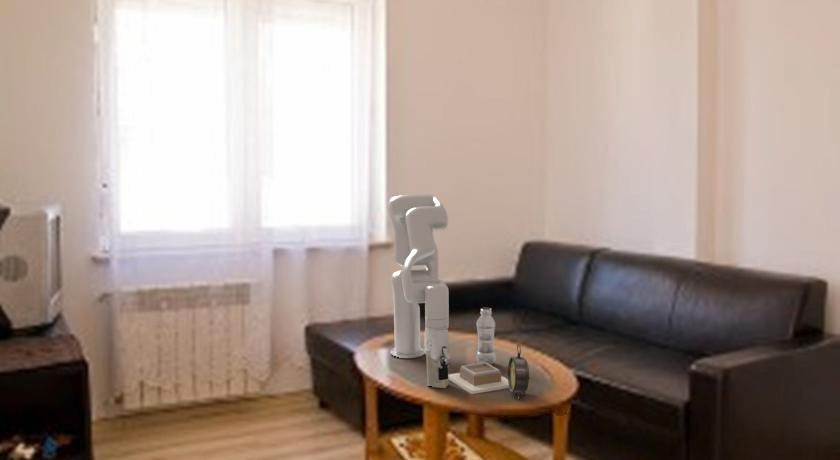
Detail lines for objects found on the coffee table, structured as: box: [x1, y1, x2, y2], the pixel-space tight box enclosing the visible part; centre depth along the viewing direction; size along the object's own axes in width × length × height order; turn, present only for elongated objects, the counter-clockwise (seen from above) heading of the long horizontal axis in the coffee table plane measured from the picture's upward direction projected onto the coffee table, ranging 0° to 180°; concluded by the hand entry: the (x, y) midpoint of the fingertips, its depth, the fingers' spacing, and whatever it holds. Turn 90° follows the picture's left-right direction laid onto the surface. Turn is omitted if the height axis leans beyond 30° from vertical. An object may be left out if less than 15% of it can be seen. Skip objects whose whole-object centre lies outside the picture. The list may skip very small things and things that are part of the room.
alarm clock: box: [507, 343, 530, 398], centre depth 232 cm, size 11×5×16 cm, turn 5°
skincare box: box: [425, 350, 450, 389], centre depth 242 cm, size 6×4×12 cm
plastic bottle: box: [476, 307, 497, 366], centre depth 264 cm, size 6×7×20 cm
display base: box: [448, 362, 509, 395], centre depth 246 cm, size 18×16×5 cm
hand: (437, 375), depth 243 cm, fingers open, 7 cm apart
